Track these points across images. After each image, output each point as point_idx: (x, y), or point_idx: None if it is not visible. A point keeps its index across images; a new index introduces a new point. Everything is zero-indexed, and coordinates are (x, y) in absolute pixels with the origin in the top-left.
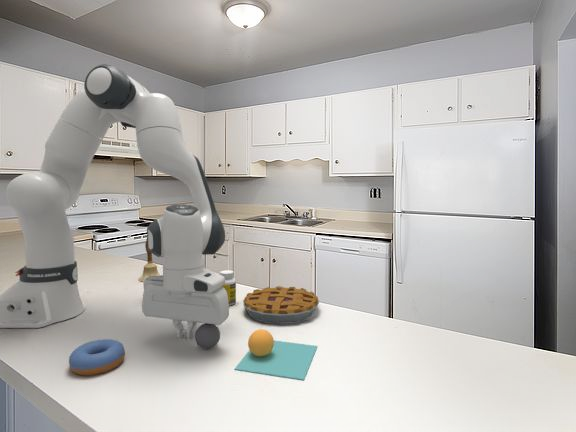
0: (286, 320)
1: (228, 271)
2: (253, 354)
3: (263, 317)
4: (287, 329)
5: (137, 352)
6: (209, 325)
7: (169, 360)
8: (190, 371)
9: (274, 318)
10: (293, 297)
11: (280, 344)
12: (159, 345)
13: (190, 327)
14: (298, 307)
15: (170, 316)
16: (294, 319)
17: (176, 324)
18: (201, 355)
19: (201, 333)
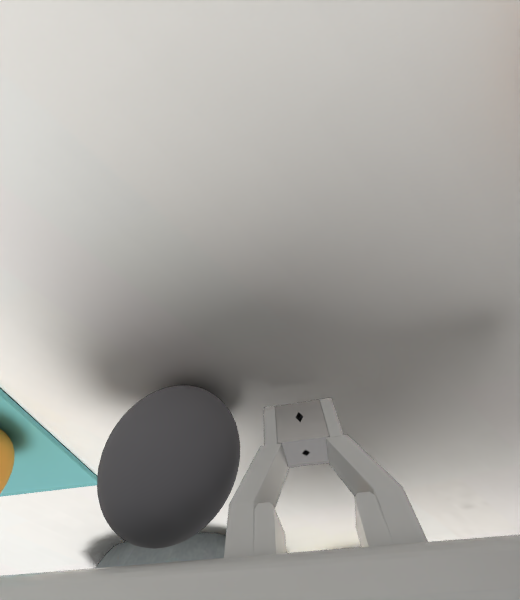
0: (120, 552)
1: None
2: (3, 423)
3: (173, 553)
4: (94, 526)
5: (497, 229)
6: (125, 536)
7: (252, 249)
8: (53, 214)
9: (141, 556)
10: None
11: (14, 482)
12: (409, 334)
13: (249, 487)
14: None
15: (461, 591)
16: (104, 559)
17: (368, 485)
18: (159, 349)
19: (140, 463)
